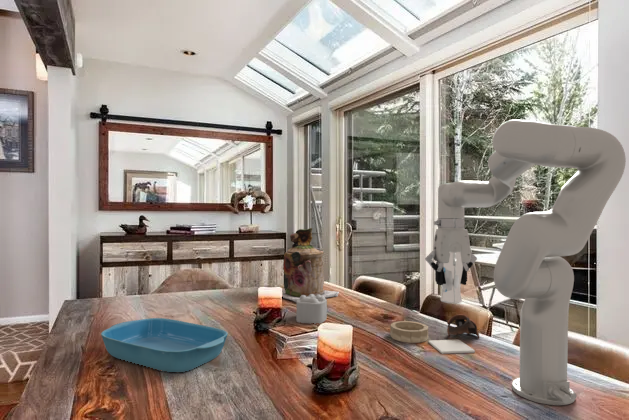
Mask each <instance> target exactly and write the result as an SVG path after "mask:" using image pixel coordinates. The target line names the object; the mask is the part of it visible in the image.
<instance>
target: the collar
mask: <svg viewBox="0 0 629 420" xmlns="http://www.w3.org/2000/svg"><path fill="white" fill-rule="evenodd" d="M389 328H390V332H389V333H390V334H389V335H390V337H391V338H392V340H395V341H398V342H403V343H419V344H420V343H423V342H428V340H429V326H428V325H426V323H421V322H417V321H412V320H411V321H410V320H404V321H403V320H401V321H400V320H398V321H394V322H392V323H391V324H390V327H389Z"/></svg>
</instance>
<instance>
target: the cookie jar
mask: <svg viewBox="0 0 629 420" xmlns="http://www.w3.org/2000/svg"><path fill="white" fill-rule="evenodd" d="M312 232H313V228H312V227H309V228H308V229H304V228H299V229H297V230H296V231H295V233H291V234H290V236H289V237H290V238H289V239H290V242H292V243H293V244H292V246H291V247H290V248H288V250H287V251H286V252H284V255H283V256H284V257H283V259H284V260H283V264H282V266H283V268H282V270H283V274H284V276H283V277H284V281H283V289H284V290H281V291H282V292H283V299H286V300H290V301H293V302H294V303H297V300H298V299H300V296H301V295H305V296H306V297H308V296H309V295H310V294H314V295H315V296H316V295H318V294H320V295H321V297H322V296H323V297H325V299H327V298H332V297H339V293H340V291H335V290H334V291H332V290H326V289H324V284H325V274H324V272H325V270H324V264H323V256H324V251H323V250H319V249H317V248H315V247H314V246H313V245H312V244H311V242H312V240H313V236H312V235H313V233H312Z"/></svg>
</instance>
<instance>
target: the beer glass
mask: <svg viewBox="0 0 629 420" xmlns="http://www.w3.org/2000/svg"><path fill="white" fill-rule="evenodd" d="M460 253H461V252H450V258H449V262H448V263H443V267H442V270H441V272H443V285H441V295H440V301H441V302H442V303H445V304H446V303H447V304H461V303H462V301H463V299H462V294H461V287H462V284H461V281H462V275H463V263H462V260H461V254H460Z"/></svg>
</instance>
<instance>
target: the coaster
mask: <svg viewBox="0 0 629 420" xmlns="http://www.w3.org/2000/svg"><path fill="white" fill-rule="evenodd" d="M427 342H428V344H429V345H431V346H432V347H433V348H434V349H436V350H437V351H438V352H439V353H440V354H442V355H444V354H468V353H469V354H471V353H476V350H475V349H473V347H470V346H469V345H468V344H466V343H465V342H463V341H462V340H460V339H439V340H438V339H437V340H436V339H434V340H433V339H432V340H431V339H430V340H429V339H428V340H427Z"/></svg>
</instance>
